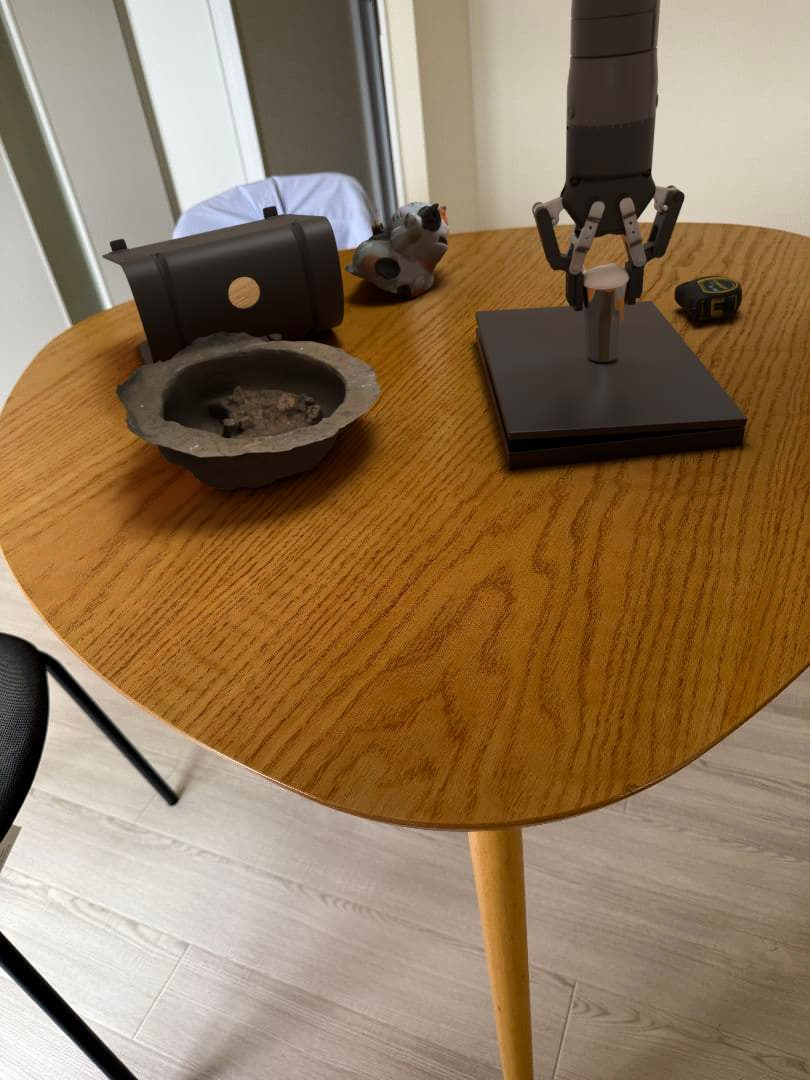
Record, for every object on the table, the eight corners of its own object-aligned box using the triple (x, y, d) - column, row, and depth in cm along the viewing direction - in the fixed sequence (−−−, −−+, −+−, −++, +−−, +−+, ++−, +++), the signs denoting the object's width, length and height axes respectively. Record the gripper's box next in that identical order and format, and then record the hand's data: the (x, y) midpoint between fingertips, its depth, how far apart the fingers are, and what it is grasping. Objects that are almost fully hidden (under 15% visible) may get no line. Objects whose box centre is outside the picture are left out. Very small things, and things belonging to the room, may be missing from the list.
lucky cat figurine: (370, 270, 122) (403, 179, 115) (437, 304, 120) (474, 214, 114) (329, 274, 108) (365, 172, 102) (404, 312, 107) (445, 210, 100)
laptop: (509, 470, 71) (508, 452, 70) (476, 342, 95) (475, 327, 94) (742, 445, 70) (745, 426, 69) (649, 322, 94) (650, 307, 93)
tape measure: (670, 308, 97) (673, 278, 95) (725, 301, 97) (730, 271, 95) (690, 328, 92) (693, 297, 89) (748, 321, 91) (753, 289, 89)
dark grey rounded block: (158, 405, 91) (114, 271, 81) (130, 341, 108) (91, 225, 99) (361, 349, 97) (342, 220, 88) (303, 297, 115) (282, 185, 106)
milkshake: (592, 341, 84) (593, 246, 78) (635, 352, 80) (639, 253, 74) (565, 357, 81) (564, 260, 75) (608, 368, 78) (610, 268, 72)
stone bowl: (112, 441, 84) (88, 358, 79) (324, 388, 93) (316, 311, 88) (174, 550, 65) (148, 451, 60) (430, 470, 75) (427, 378, 70)
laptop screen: (508, 441, 69) (509, 432, 69) (475, 318, 93) (475, 311, 93) (745, 427, 69) (747, 418, 69) (650, 308, 93) (651, 300, 93)
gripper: (680, 96, 70) (664, 284, 80) (521, 116, 71) (525, 301, 81) (709, 108, 64) (687, 310, 74) (535, 130, 65) (537, 328, 75)
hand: (602, 304), depth 78 cm, fingers closed on milkshake, 4 cm apart
